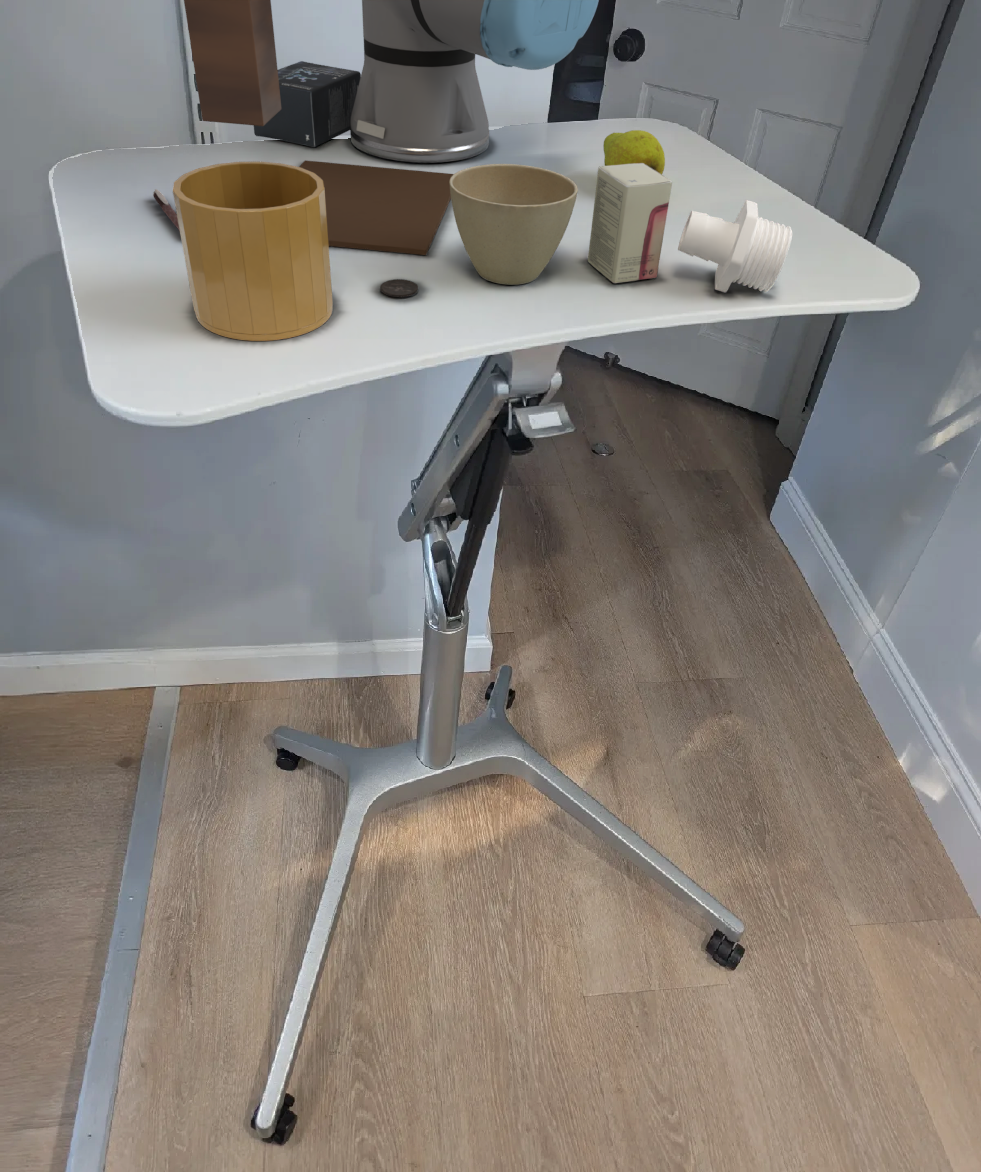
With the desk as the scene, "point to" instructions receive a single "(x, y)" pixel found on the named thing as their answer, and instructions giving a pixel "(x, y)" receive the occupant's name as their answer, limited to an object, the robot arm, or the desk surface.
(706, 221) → the pipe fitting
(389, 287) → the coin
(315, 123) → the box
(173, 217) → the pen
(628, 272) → the small box
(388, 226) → the mat
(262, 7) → the block
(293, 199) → the wooden pot
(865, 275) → the desk surface
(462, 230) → the bowl
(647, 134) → the fruit
